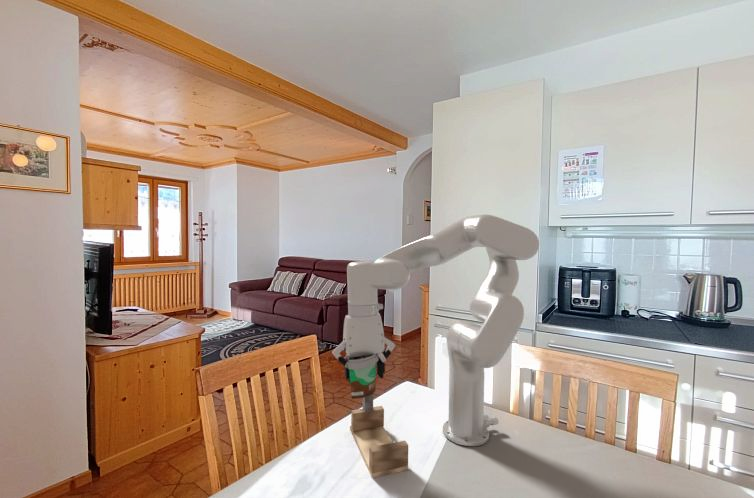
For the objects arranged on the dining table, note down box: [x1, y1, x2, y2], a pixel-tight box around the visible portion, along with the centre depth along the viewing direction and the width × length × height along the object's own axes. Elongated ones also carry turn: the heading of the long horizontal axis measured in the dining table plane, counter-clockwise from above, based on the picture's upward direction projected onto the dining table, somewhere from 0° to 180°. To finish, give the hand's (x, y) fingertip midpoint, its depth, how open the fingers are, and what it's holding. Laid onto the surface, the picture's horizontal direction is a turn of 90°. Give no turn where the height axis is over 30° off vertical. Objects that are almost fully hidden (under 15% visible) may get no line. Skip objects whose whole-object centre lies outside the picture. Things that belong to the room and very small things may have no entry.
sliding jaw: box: [350, 393, 385, 431], centre depth 98 cm, size 9×2×11 cm, turn 108°
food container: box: [348, 354, 379, 400], centre depth 89 cm, size 12×6×10 cm, turn 169°
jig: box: [349, 425, 409, 479], centre depth 91 cm, size 9×21×6 cm, turn 18°
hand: (365, 378), depth 89 cm, fingers closed on food container, 7 cm apart
